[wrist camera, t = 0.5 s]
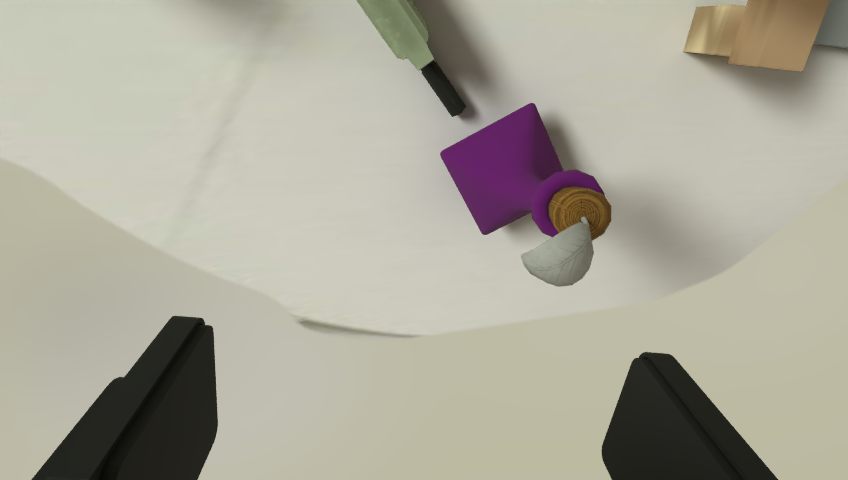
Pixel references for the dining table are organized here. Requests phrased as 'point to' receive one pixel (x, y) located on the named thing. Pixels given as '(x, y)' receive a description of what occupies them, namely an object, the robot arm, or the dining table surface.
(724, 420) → the robot arm
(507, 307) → the dining table surface
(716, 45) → the bar rest
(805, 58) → the walnut bar
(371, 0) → the handheld radio
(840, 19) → the stand
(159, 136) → the dining table surface
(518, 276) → the dining table surface
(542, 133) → the purple potion bottle
